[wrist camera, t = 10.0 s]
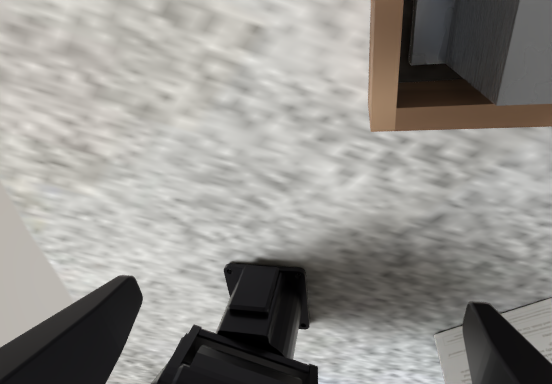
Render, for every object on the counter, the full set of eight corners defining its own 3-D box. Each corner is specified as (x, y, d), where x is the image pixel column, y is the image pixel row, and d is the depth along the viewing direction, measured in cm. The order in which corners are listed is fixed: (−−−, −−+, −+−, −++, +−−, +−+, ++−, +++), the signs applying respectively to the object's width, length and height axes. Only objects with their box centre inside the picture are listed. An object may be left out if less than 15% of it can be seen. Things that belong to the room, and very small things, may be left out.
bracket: (518, 53, 16) (638, 100, 9) (408, 60, 17) (442, 107, 10) (549, -78, 14) (743, -145, 7) (418, -59, 15) (471, -101, 8)
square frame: (557, 93, 17) (615, 124, 13) (368, 103, 19) (370, 131, 15) (631, -156, 12) (752, -220, 9) (374, -109, 14) (379, -143, 11)
